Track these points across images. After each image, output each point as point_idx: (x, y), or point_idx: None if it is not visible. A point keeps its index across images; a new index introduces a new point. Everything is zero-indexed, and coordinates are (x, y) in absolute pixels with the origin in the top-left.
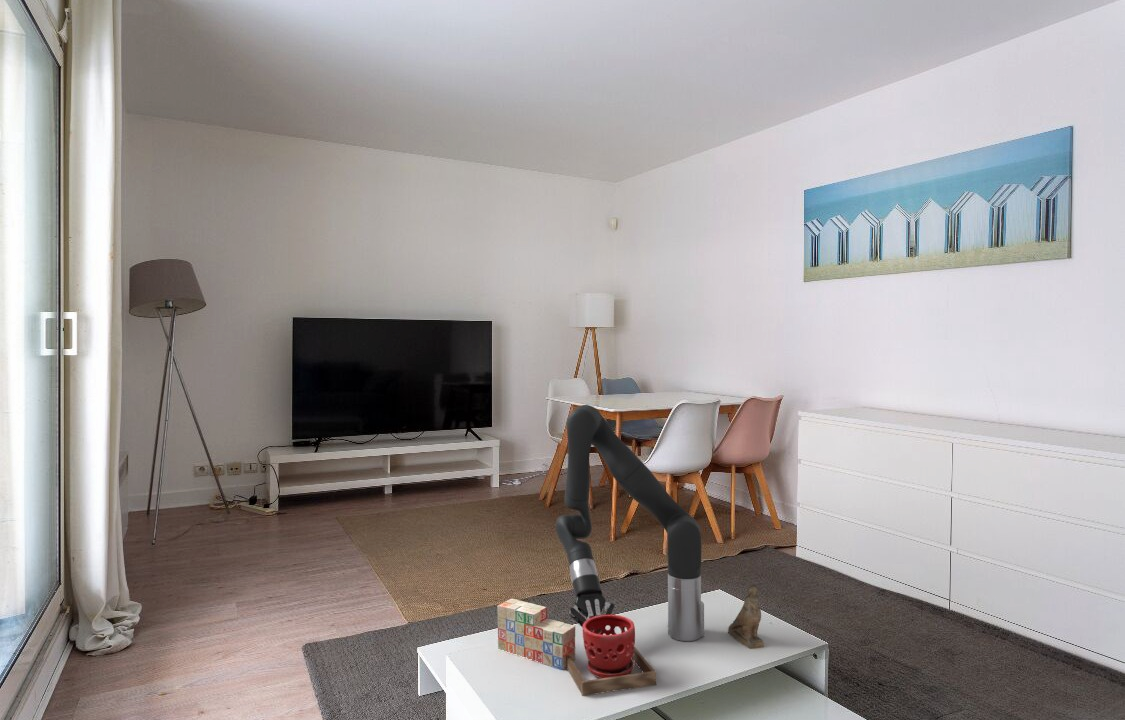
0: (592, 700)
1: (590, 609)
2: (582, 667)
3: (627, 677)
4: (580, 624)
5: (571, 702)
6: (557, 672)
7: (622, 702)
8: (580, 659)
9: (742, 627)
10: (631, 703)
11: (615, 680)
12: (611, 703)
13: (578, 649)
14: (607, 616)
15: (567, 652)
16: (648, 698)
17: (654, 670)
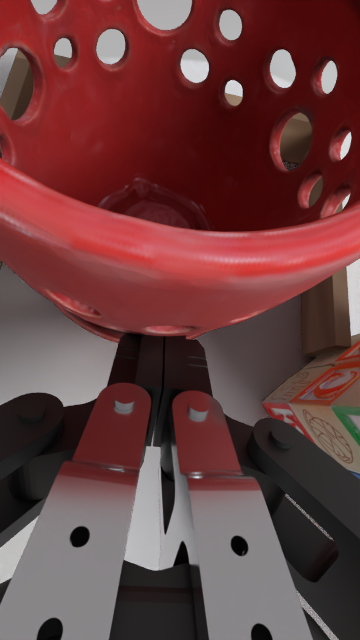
0: None
1: (236, 619)
2: (248, 330)
3: None
4: (301, 512)
5: (349, 143)
6: (357, 332)
7: (204, 78)
8: (232, 407)
9: None
10: (180, 63)
11: None
12: (237, 89)
13: None
14: (65, 195)
15: (350, 355)
16: (115, 58)
17: (15, 60)
